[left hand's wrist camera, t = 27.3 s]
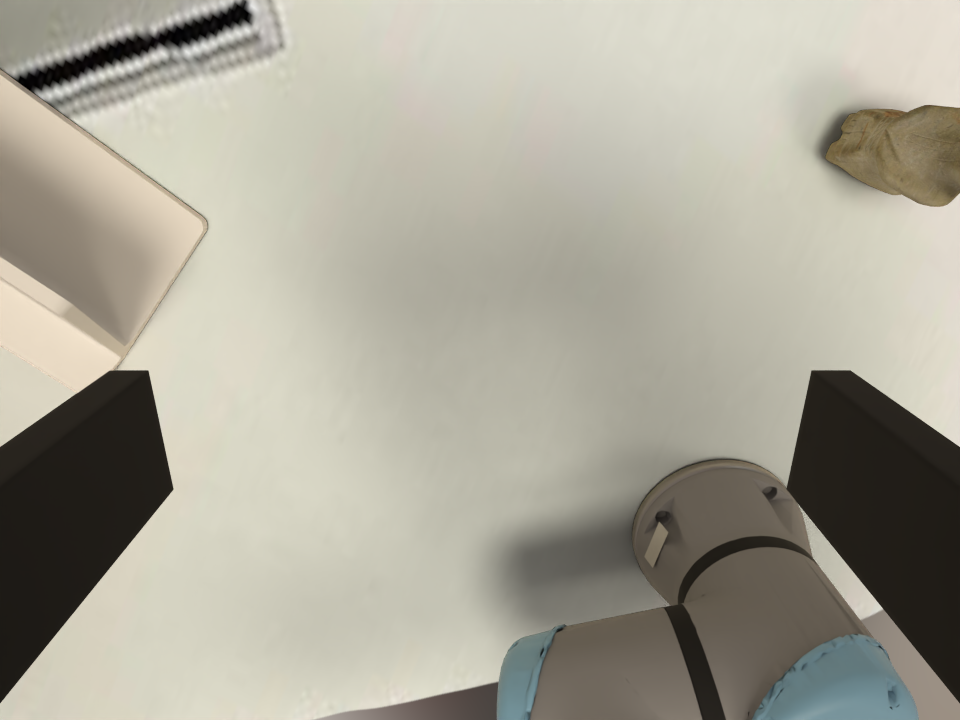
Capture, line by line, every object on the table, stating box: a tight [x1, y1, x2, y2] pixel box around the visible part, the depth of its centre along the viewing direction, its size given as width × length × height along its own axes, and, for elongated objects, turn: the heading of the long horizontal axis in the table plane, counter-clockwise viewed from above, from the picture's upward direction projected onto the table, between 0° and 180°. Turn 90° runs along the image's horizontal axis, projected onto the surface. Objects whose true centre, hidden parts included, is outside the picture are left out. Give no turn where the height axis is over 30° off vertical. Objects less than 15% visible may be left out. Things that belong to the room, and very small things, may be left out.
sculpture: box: [825, 105, 960, 207], centre depth 40 cm, size 6×7×15 cm
